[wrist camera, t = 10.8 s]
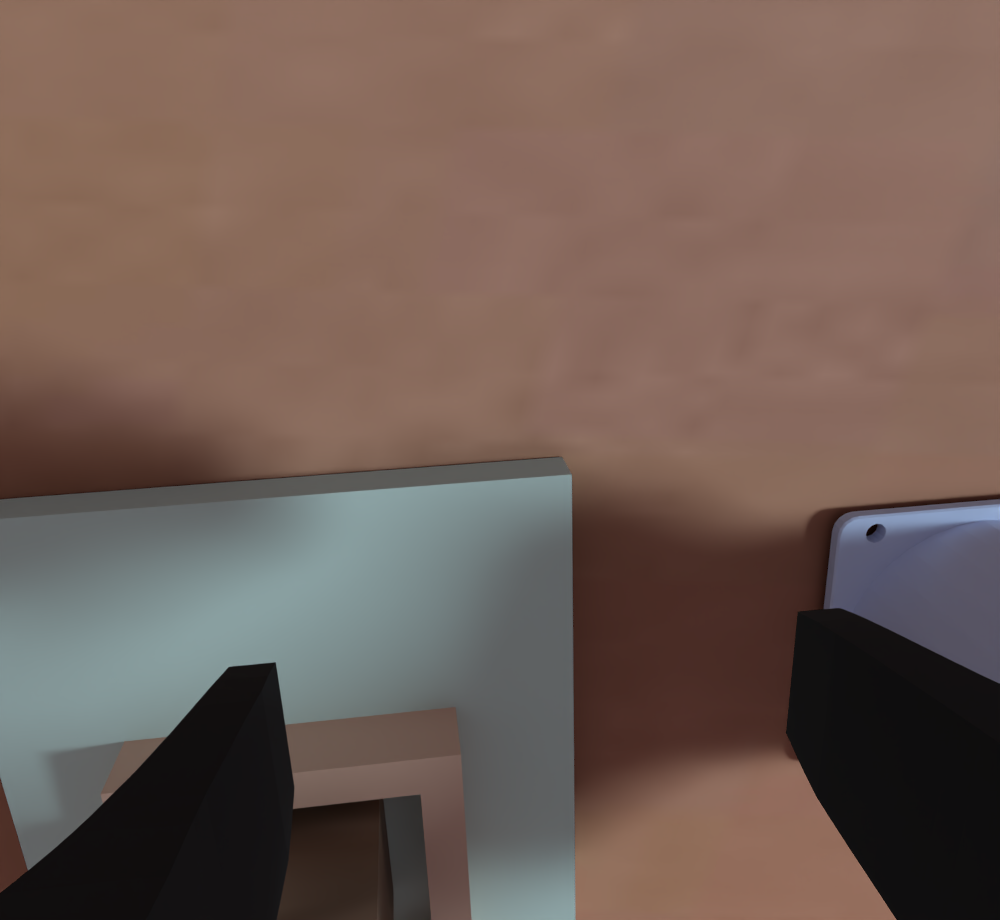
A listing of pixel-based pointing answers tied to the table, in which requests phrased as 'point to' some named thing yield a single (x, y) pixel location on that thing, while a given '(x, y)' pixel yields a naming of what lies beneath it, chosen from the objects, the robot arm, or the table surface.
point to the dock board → (315, 658)
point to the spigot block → (338, 864)
